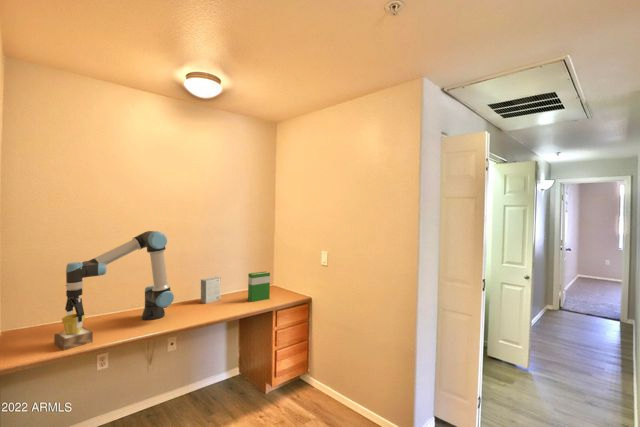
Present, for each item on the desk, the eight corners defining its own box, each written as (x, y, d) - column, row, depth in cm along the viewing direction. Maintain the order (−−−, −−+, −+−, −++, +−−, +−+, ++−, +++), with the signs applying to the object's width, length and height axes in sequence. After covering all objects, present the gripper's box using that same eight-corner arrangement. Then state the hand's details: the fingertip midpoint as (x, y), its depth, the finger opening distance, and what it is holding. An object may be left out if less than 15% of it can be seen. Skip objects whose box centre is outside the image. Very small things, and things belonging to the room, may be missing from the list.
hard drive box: (215, 298, 283) (215, 276, 283) (220, 299, 279) (221, 277, 279) (200, 302, 270) (200, 279, 270) (205, 303, 266) (205, 280, 266)
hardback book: (265, 297, 290) (265, 271, 290) (269, 298, 284) (269, 272, 284) (248, 300, 279) (248, 273, 279) (251, 302, 273) (252, 274, 273)
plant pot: (72, 328, 189) (72, 312, 189) (88, 329, 189) (88, 313, 189) (57, 335, 179) (57, 318, 179) (74, 336, 178) (74, 319, 178)
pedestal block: (82, 336, 193) (82, 326, 193) (92, 342, 186) (92, 331, 186) (54, 344, 181) (54, 333, 181) (63, 350, 174) (63, 339, 174)
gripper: (58, 287, 187) (58, 322, 187) (75, 293, 174) (75, 331, 174) (73, 284, 193) (73, 318, 194) (91, 290, 180) (91, 327, 180)
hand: (74, 324), depth 184 cm, fingers open, 13 cm apart
